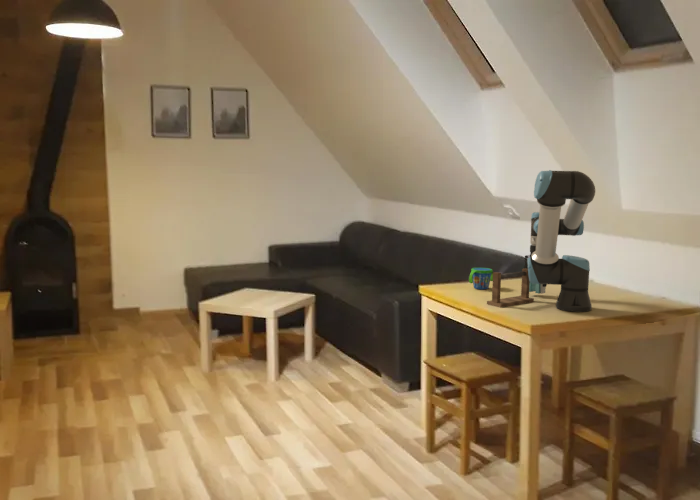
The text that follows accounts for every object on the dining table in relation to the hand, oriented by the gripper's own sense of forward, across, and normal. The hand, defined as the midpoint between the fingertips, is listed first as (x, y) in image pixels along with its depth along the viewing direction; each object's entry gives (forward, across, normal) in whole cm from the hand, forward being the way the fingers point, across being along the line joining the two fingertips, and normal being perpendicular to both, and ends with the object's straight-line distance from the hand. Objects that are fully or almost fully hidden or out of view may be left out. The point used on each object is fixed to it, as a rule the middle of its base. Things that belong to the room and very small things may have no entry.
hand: (536, 291), depth 350 cm
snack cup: (+2, -29, -7) cm, 30 cm away
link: (0, 0, 0) cm, 0 cm away
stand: (+2, +4, -23) cm, 23 cm away
